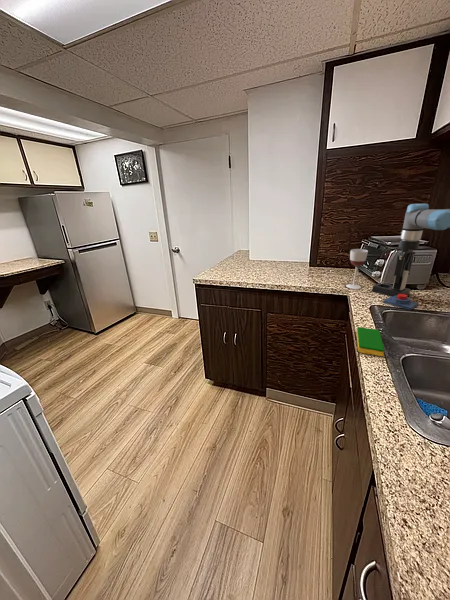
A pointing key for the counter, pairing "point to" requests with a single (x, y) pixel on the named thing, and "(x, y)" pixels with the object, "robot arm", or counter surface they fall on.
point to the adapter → (389, 290)
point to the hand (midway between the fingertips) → (398, 287)
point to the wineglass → (357, 263)
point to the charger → (403, 280)
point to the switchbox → (401, 302)
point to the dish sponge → (369, 341)
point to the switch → (402, 296)
